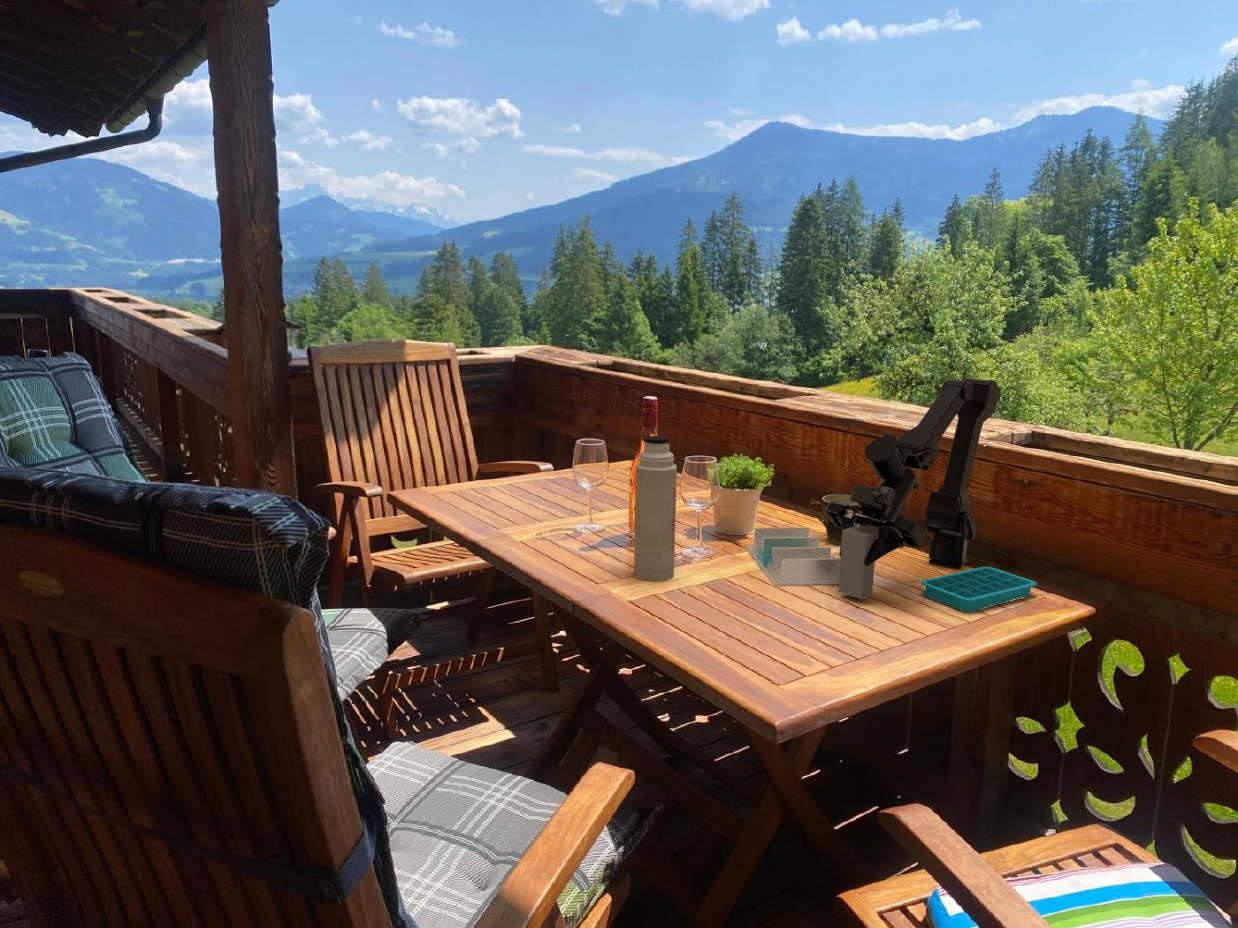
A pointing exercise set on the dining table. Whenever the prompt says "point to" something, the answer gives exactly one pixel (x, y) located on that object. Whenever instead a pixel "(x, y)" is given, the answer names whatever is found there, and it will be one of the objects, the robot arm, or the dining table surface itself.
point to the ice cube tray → (977, 588)
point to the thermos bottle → (655, 511)
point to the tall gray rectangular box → (856, 562)
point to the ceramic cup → (832, 531)
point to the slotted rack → (793, 557)
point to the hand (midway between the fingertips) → (853, 560)
